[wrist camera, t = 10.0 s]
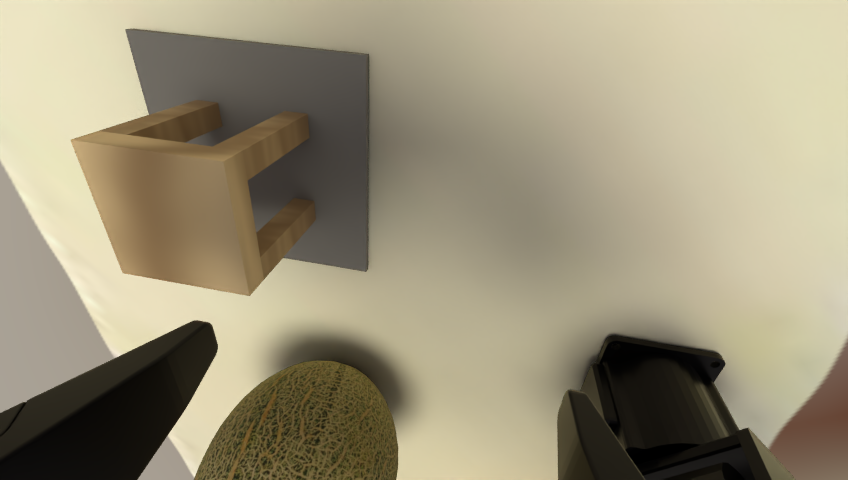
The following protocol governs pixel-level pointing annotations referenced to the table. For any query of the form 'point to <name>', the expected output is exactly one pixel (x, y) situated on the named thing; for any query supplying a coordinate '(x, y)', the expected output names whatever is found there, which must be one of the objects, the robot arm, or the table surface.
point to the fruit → (306, 429)
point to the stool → (192, 196)
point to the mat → (265, 98)
